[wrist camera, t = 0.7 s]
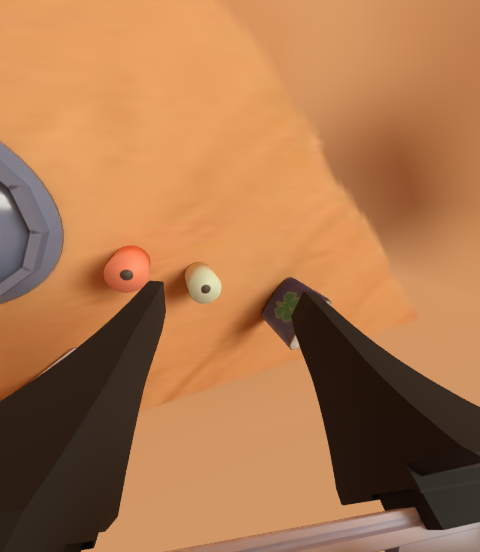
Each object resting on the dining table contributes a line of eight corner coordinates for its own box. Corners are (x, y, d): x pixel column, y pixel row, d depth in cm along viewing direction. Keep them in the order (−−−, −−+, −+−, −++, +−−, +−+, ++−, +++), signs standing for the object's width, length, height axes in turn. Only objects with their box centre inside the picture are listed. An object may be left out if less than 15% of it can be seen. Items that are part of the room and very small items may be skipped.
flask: (267, 320, 36) (304, 361, 27) (256, 314, 35) (292, 356, 25) (297, 280, 35) (345, 309, 26) (287, 273, 34) (335, 300, 25)
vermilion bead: (132, 282, 25) (126, 299, 21) (105, 259, 23) (93, 273, 19) (156, 263, 25) (156, 276, 21) (132, 239, 23) (126, 248, 19)
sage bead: (196, 292, 29) (203, 309, 24) (178, 274, 27) (182, 288, 22) (217, 276, 29) (227, 289, 25) (200, 256, 27) (209, 267, 23)
